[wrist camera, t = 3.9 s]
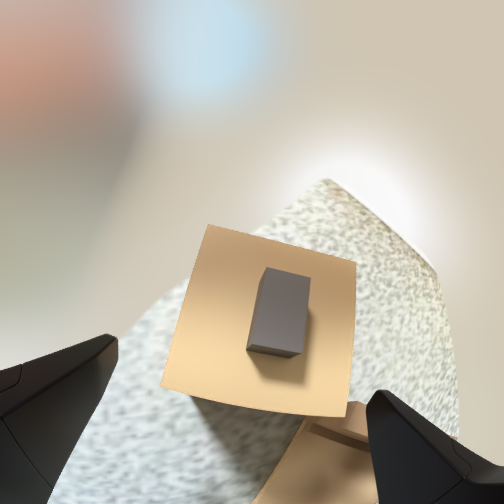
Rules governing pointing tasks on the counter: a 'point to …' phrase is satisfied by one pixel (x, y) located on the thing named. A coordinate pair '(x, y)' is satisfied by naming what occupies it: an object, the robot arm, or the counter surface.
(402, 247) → the counter surface
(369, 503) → the cleat board
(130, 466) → the counter surface
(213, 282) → the cabinet block
